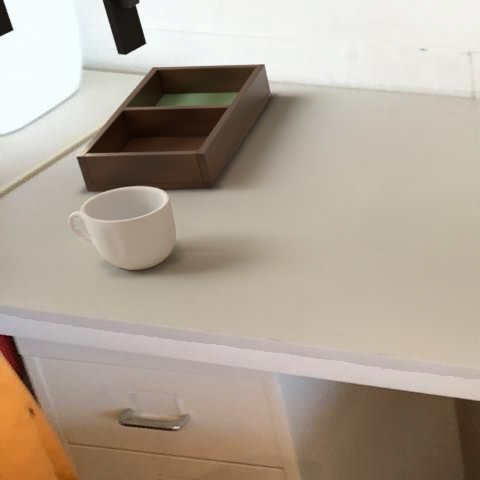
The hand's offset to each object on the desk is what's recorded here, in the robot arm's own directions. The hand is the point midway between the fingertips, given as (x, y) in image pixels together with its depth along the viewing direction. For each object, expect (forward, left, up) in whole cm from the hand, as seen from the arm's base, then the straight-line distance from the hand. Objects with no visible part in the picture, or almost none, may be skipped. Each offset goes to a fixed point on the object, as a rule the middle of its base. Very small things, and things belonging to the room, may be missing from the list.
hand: (64, 42), depth 107 cm
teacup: (-1, +1, -20) cm, 20 cm away
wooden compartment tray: (-4, +29, -20) cm, 36 cm away
